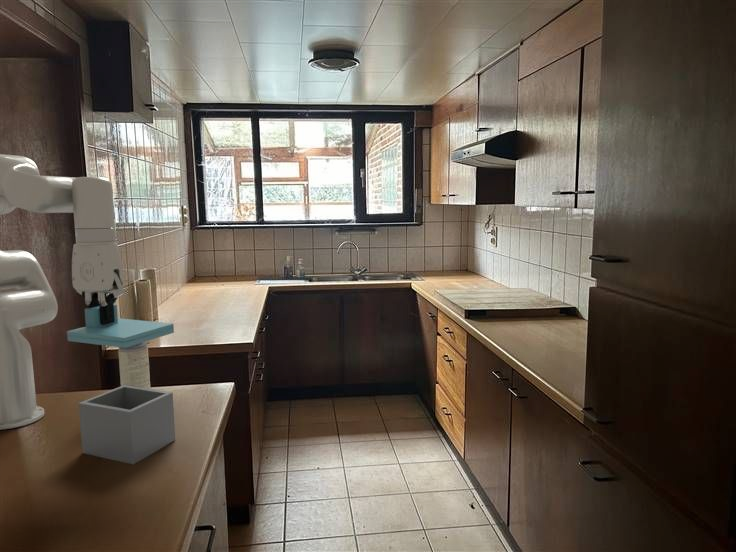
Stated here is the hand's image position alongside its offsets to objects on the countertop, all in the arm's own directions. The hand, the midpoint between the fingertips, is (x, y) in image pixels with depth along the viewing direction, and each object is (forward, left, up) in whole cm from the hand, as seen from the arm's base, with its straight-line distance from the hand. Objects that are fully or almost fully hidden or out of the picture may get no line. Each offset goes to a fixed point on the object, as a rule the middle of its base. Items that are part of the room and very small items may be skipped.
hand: (102, 322), depth 113 cm
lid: (+6, 0, -3) cm, 6 cm away
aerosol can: (-9, +17, -27) cm, 34 cm away
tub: (+6, 0, -27) cm, 28 cm away
